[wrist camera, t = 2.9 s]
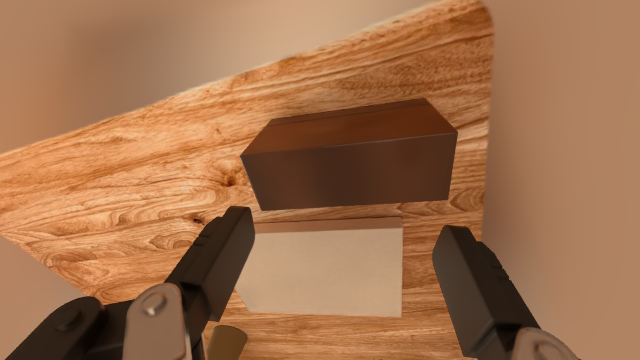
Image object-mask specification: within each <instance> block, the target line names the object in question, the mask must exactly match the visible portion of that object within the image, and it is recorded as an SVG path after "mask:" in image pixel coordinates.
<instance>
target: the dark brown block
mask: <svg viewBox="0 0 640 360" xmlns="http://www.w3.org/2000/svg"><path fill="white" fill-rule="evenodd" d="M457 135H458V132H457V131H456V130H455V129H454V127H453V126H452V125H451V124H450V123H449V122H448V121H447V120H446V119H445V118H444V117H443V116H442V115H441V114H440V113H439V112H438V111H437V110H436V109H435V108H434V107H433V106H432V105H431V104H430V103H429V102H428V101H427V100H426V99H425V98H421V99H413V100H406V101H399V102H392V103H385V104H378V105H371V106H364V107H357V108H350V109H342V110H335V111H328V112H321V113H314V114H307V115H300V116H293V117H286V118H278V119H272V120H271V121H270V122H269V123H268V124H267V125H266V127H264V128H263V130H262V131H261V132H260V133H259V134H258V135H257V137H256V138H255V139H254V140H253V141H252V142H251V143H250V145H249V146H248V147H247V148H246V149H245V150H244V151H243V153H242V154H241V155H240V159H241V161H242V164H243V166H244V169H245V171H246V174H247V176H248V179H249V181H250V184H251V186H252V189H253V191H254V194H255V196H256V198H257V201H258V203H259V206H260V208H261V211H270V210H287V209H304V208H321V207H338V206H355V205H373V204H390V203H407V202H424V201H441V200H448V196H449V189H450V182H451V175H452V169H453V162H454V155H455V148H456V142H457Z"/></svg>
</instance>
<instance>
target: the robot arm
mask: <svg viewBox="0 0 640 360" xmlns="http://www.w3.org/2000/svg"><path fill="white" fill-rule="evenodd" d="M254 242H255V229H254V224H253V219H252V214H251V210H250V208H249V207H242V206H230V207H229V208H228V209H227V211H226V212H225V214H224V215H223V217H216V218H215V219H213V220H212V221H211V222H209V223H208V224H207V225H206V226H205V227H204V229H203V230H202V231H201V233H200V234H199V237H197V238H196V240H195V241H194V242H193V245H192V246H190V248H189V249H188V251H187V252H186V253H185V255H184V256H183V257H182V259H181V260H180V261H179V263H178V264H177V266H176V267H175V268H174V270H173V271H172V272H171V274H170V275H169V276H168V278H167V279H166V280H165V282H164V283H161V284H157V285H155V286H152V287H150V288H149V289H147V290H145V291H144V292H142V293H141V294H140V295H139V296H138V297H137V298H136V299H133V300H129V301H123V302H118V303H113V304H108V305H103V304H102V303H101V302H100V301H99V300H98V299H97V298H95V297H90V296H88V297H82V298H77V299H75V300H72V301H70V302H68V303H66V304H64V305H62V306H61V307H59V308H58V309H56V310H55V311H54V312H52V313H51V314H50V315H49V316H48V317H47V318H46V319H45V320H44V321H43V322H42V323H41V324H40V325H39V326H38V327H37V328H36V329H35V330H34V331H33V332H32V333H31V334H30V335H29V336H28V337H27V338H26V339H25V340H24V341H23V342H22V343H21V344H20V345H19V346H18V347H17V348H16V349H15V350H14V351H13V352H12V353H11V354H10V355H9V356H8V357H7V358H6V359H5V360H208V355H207V349H206V343H205V337H204V332H203V331H204V328H205V326H206V324H207V322H208V321H216V322H219V321H220V319H221V316H222V314H223V312H224V310H225V308H226V305H227V303H228V301H229V299H230V296H231V294H232V292H233V290H234V288H235V285H236V283H237V281H238V279H239V276H240V274H241V272H242V270H243V268H244V265H245V263H246V261H247V259H248V256H249V254H250V252H251V250H252V248H253V245H254ZM432 261H433V266H434V269H435V272H436V275H437V278H438V281H439V284H440V287H441V290H442V293H443V296H444V299H445V302H446V305H447V308H448V311H449V314H450V317H451V320H452V323H453V326H454V329H455V332H456V335H457V338H458V341H459V344H460V347H461V350H462V353H463V356H464V357H471V358H477V359H478V360H580V359H578V358H577V357H576V355H575V354H574V353H573V352H572V351H571V350H570V349H569V348H568V347H567V346H566V345H565V344H564V343H563V342H561V341H560V340H559V339H558V338H556V337H555V336H553V335H551V334H550V333H548V332H546V331H543V330H542V329H541V328H540V326H539V325H538V324H537V322H536V320H535V319H534V317H533V315H532V314H531V312H530V310H529V309H528V307H527V306H526V304H525V303H524V301H523V299H522V298H521V296H520V294H519V293H518V291H517V289H516V288H515V286H514V285H513V283H512V281H511V280H509V276H508V275H507V273H506V272H505V270H504V269H502V265H501V264H500V262H499V260H498V259H497V257H496V256H495V254H494V253H493V252H492V251H491V250H490V249H489V248H488V247H487V246H486V245H484V243H482V242H479V241H476V240H475V238H474V237H473V235H472V233H471V231H470V230H469V229H468V228H467V227H463V226H452V225H445V226H444V227H443V228H442V230H441V233H440V235H439V238H438V240H437V242H436V245H435V247H434V249H433V254H432Z"/></svg>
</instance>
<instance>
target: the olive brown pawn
mask: <svg viewBox="0 0 640 360" xmlns="http://www.w3.org/2000/svg"><path fill="white" fill-rule="evenodd" d="M246 341H247V335H246V334H245V333H244V332H242V331H241V330H239V329H236V328H234V327H230V326H217V327H215V328H214V330H213V333H212V336H211V339H210V342H209V345H208V348H207V355H208V360H238V358H239V356H240V354H241V352H242V350H243V348H244V345H245V343H246Z"/></svg>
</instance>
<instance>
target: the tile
mask: <svg viewBox="0 0 640 360" xmlns="http://www.w3.org/2000/svg"><path fill="white" fill-rule="evenodd" d="M254 229H255V242H254V245H253V248H252V250H251V252H250V254H249V256H248V259H247V261H246V263H245V265H244V268H243V270H242V272H241V274H240V276H239V279H238V281H237V283H236V285H235V290H236V292H237V293H238V295H239V296H240V298H241V299H242V301H243V303H244V304H245V306H246V307H247V309H248V311H249V312H257V313H286V314H316V315H345V316H375V317H401V315H402V264H403V225H402V221H401V217H382V218H361V219H340V220H319V221H298V222H277V223H256V224H254Z"/></svg>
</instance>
